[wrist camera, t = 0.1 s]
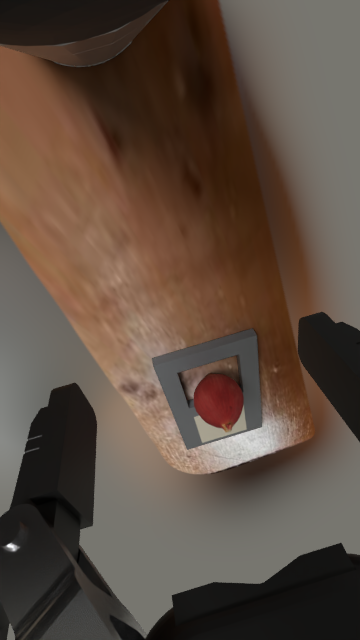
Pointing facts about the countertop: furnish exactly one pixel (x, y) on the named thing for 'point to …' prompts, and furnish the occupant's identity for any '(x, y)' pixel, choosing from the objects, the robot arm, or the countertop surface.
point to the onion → (219, 401)
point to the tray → (205, 353)
